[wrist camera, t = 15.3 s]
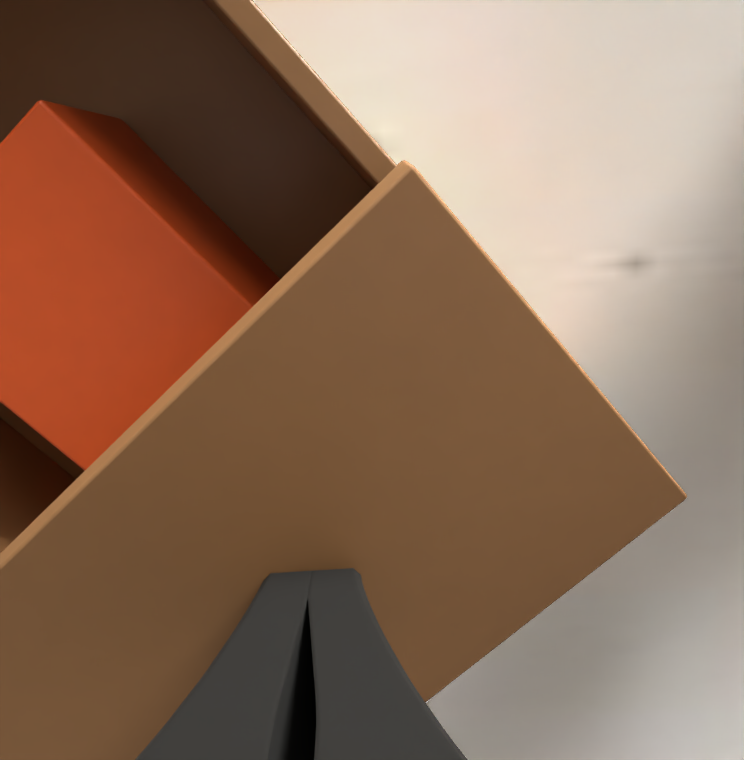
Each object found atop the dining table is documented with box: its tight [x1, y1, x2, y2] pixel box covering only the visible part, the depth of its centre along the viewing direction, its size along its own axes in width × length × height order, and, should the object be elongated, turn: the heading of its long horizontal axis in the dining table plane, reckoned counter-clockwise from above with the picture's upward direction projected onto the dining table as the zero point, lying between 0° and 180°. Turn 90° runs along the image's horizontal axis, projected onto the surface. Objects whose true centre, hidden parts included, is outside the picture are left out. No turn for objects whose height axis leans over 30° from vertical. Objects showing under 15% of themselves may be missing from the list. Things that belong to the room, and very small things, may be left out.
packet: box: [0, 100, 281, 471], centre depth 13 cm, size 4×8×4 cm, turn 43°
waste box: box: [0, 0, 397, 553], centre depth 13 cm, size 15×11×5 cm
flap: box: [0, 160, 687, 760], centre depth 10 cm, size 7×11×1 cm
